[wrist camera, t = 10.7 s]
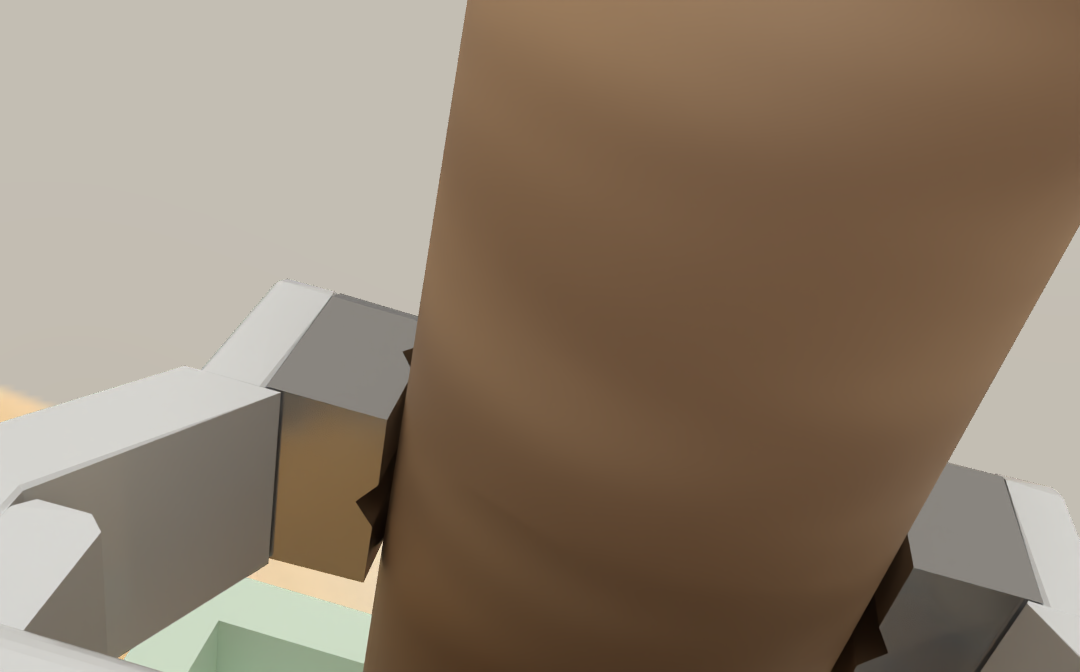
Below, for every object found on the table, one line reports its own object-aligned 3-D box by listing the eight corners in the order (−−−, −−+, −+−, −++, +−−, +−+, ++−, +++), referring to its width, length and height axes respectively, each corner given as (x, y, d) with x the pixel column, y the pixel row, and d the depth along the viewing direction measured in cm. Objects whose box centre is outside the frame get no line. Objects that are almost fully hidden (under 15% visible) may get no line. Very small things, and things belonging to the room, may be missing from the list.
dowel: (262, 1103, 12) (511, -1159, 3) (375, 792, 15) (649, -693, 6) (599, 1211, 11) (1990, -870, 3) (637, 871, 15) (1307, -547, 6)
